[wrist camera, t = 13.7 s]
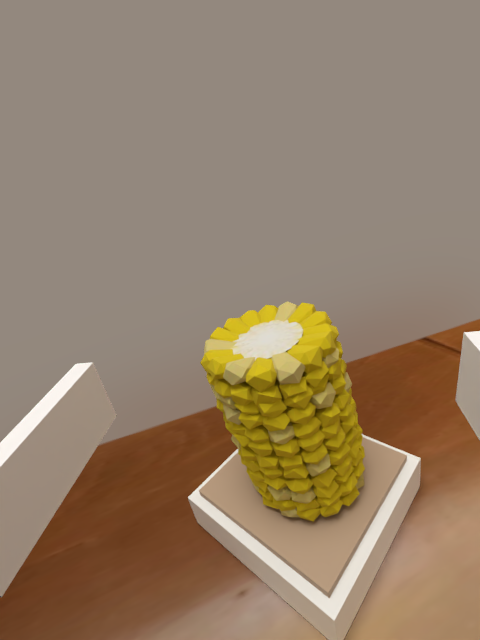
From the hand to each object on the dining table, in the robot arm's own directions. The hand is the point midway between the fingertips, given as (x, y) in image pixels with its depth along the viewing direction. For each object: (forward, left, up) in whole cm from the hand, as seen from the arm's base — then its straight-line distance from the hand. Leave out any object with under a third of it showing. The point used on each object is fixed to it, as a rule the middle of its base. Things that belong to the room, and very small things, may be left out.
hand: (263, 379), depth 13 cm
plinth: (-6, +8, -21) cm, 23 cm away
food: (-6, +8, -17) cm, 20 cm away
